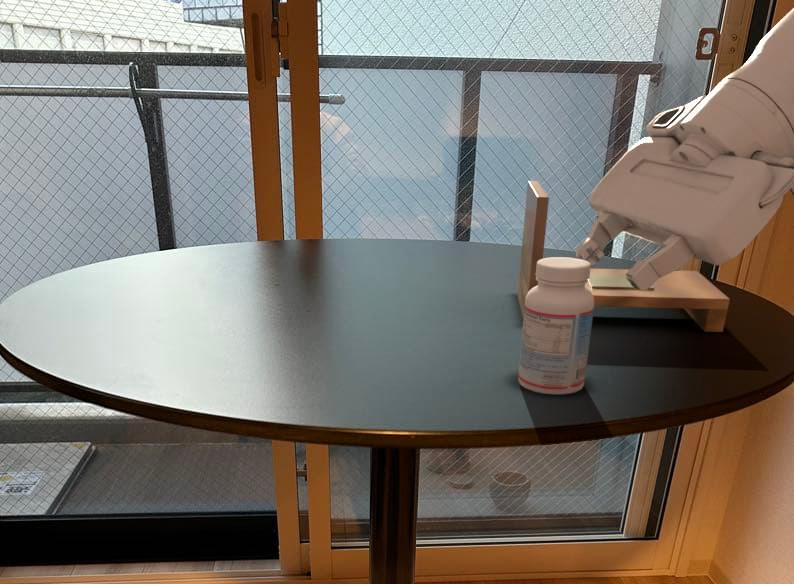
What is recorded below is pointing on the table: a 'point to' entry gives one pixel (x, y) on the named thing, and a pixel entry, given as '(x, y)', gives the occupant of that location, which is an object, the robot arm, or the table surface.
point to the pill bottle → (557, 327)
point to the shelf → (621, 277)
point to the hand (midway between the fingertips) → (606, 272)
